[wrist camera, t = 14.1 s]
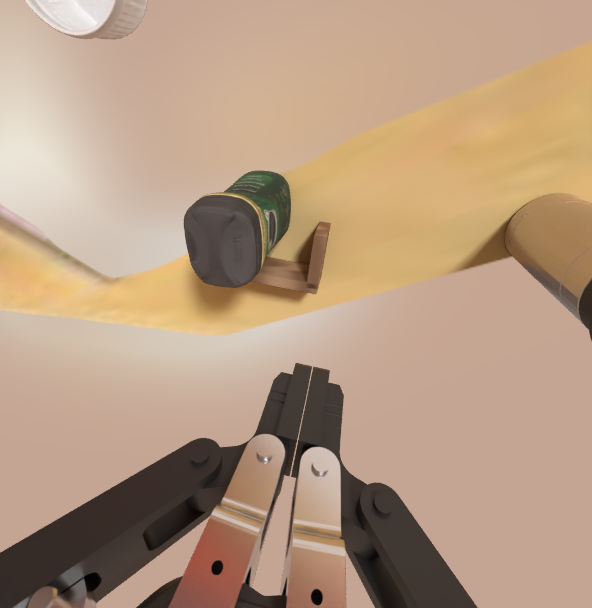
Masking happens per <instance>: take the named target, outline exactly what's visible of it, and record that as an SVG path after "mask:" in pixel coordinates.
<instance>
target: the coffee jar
mask: <svg viewBox="0 0 592 608" xmlns="http://www.w3.org/2000/svg"><path fill="white" fill-rule="evenodd" d="M290 213H291V198H290V189H289V185H288V183H287V181H286V180H285V179H284V177H282V176H281V175H279V174H277V173H274V172H269V171H252V172H249V173H247V174H245V175H244V176H242V177H241V178H239V179H238V180H237V181H236V182H235V183H234V184H233V185H232V186H231V187H229V188H228V189H227V190H226V191H224V192H220V193H211V194H207V195H204V196H202V197H201V198H200V199H199V200H197V201H196V202H195V203H194V204H193V205H192V206H191V207H190V208H189V209H188V210H187V212H186V214H185V217H184V229H185V238H186V244H187V249H188V253H189V257H190V262H191V265H192V267H193V269H194V271H195V273H196V274H197V275H198V276H199V278H200V279H201V280H203V282H204V283H206V284H210V285H215V286H221V287H235V288H236V287H240V286H243V285H245V284H247V283H249V282H250V281H251V280H252V279H253V278H254V277H255V276H256V275H257V274H258V273H259V272H260V270H261V268H262V266H263V263H264V261H265V259H266V256H267V254H268V253H269V251H270V250H271V249H272V248H273V247H274V245H275V244H276V243H277V242H278V241H279V240H280V239H281V238H282V236H283V235H284V234H285V233H286V231H287V230H288V227H289V223H290Z"/></svg>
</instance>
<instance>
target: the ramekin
mask: <svg viewBox="0 0 592 608" xmlns="http://www.w3.org/2000/svg"><path fill="white" fill-rule="evenodd" d="M25 1H26V3H27V4H28V5H29V7H30V8H31V9H32V10H33V11H34V12H35V14H36V15H38V16H39V17H40V18H41V19H42V20H43V21H44V22H45V23H47V24H48V25H49V26H51V27H52V28H54V29H55V30H57V31H59V32H61V33H64V34H66V35H69V36H72V37H76V38H81V39H92V38H101V39H117V38H123V37H124V36H127V35H129V34H130V33H132V32H133V31H134V30H135V29H136V28H137V27H138V25H139V24H140V23H141V20H142V18H143V17H144V13H145V11H146V7H147V3H148V0H25Z"/></svg>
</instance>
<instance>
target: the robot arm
mask: <svg viewBox="0 0 592 608" xmlns="http://www.w3.org/2000/svg"><path fill="white" fill-rule="evenodd" d="M505 245H506V248H507V250H508V252H509V253H510V254H511V255H512V256H513V257H514V258H515V259H516V260H517V261H518V262H519V263H520V264H521V265H522V266H523V267H524V268H525V269H526V270H528V272H529V273H530V274H531V275H532V276H533V277H534V278H536V279H537V280H538V281H539V282H540V283H541V284H542V285H543V286H544V287H545V288H546V289H547V290H548V291H549V292H550V293H551V294H552V295H553V296H554V297H555V298H556V299H557V300H558V301H560V302H561V303H562V304H563V305H564V306H565V307H566V308H567V309H568V310H569V311H570V312H571V313H572V314H573V315H574V316H575V317H577V319H579V320H580V321H581V322H582V323H583V324H584V325H585V326H586V327H587V328H588V329H589V332H590V337H591V340H592V203H590V202H587V201H584V200H582V199H579V198H577V197H574V196H571V195H567V194H551V195H547V196H543V197H540V198H538V199H535V200H533V201H531V202H530V203H528V204H526V205H525V206H524V207H523V208H521V209H520V210H519V211H518V212H517V213H516V214H515V215H514V216H513V217H512V219H511V221H510V222H509V224H508V226H507V229H506V231H505ZM311 369H312V366H308V365H303V364H299V363H296V364H295V368H294V371H293V375H292V374H287V373H283V372H281V373H280V374H279V375H278V376H277V377H276V378H275V379H274V381H273V384H272V387H271V390H270V393H269V396H268V399H267V402H266V405H265V408H264V411H263V413H262V416H261V419H260V422H259V425H258V428H257V430H256V433H255V434H254V436H253V437H252V438H251V439H250V440H249V441H247V442H246V443H244V444H242V445H239V446H232V447H219V445H218V444H217V443H216V442H215V441H213V440H211V439H207V438H200V439H196V440H193V441H191V442H189V443H188V444H186V445H184V446H183V447H181V448H179V449H177V450H176V451H174V452H172V453H171V454H169V455H167V456H166V457H164V458H162V459H160V460H159V461H157V462H155V463H154V464H152V465H150V466H148V467H147V468H145V469H143V470H141V471H140V472H138V473H137V474H135V475H133V476H131V477H129V478H128V479H126V480H124V481H123V482H121V483H119V484H118V485H116V486H114V487H112V488H111V489H109V490H107V491H106V492H104V493H102V494H100V495H99V496H97V497H95V498H94V499H92V500H90V501H88V502H87V503H85V504H83V505H82V506H80V507H78V508H76V509H75V510H73V511H71V512H69V513H68V514H66V515H64V516H63V517H61V518H59V519H57V520H56V521H54V522H52V523H51V524H49V525H47V526H45V527H44V528H42V529H40V530H39V531H37V532H35V533H33V534H32V535H30V536H29V537H27V538H25V539H23V540H21V541H20V542H18V543H16V544H15V545H13V546H11V547H9V548H8V549H6V550H4V551H3V552H1V553H0V608H96V603H97V602H98V601H99V600H101V599H102V598H103V597H104V596H106V595H107V594H108V593H110V592H111V591H112V590H114V589H115V588H116V587H118V586H119V585H120V584H122V583H123V582H124V581H126V580H127V579H128V578H129V577H131V576H132V575H133V574H135V573H136V572H137V571H139V570H140V569H141V568H142V567H144V566H145V565H146V564H148V563H149V562H150V561H152V560H153V559H154V558H156V557H157V556H158V555H160V554H161V553H162V552H163V551H165V550H166V549H167V548H169V547H170V546H171V545H172V544H174V543H175V542H177V541H178V540H179V539H180V538H182V537H183V536H184V535H186V534H187V533H188V532H190V531H191V530H192V529H193V528H195V527H196V526H197V525H199V524H200V523H201V522H203V521H204V520H205V519H207V518H208V517H209V516H210V518H209V520H208V522H207V525H206V527H205V529H204V531H203V533H202V535H201V538H200V540H199V542H198V544H197V546H196V549H195V551H194V553H193V555H192V557H191V560H190V562H189V564H188V566H187V568H186V570H185V573H184V575H183V576H182V577H179V578H176V579H174V580H172V581H170V582H168V583H166V584H165V585H163V586H162V587H160V588H159V589H158V590H157V591H155V592H154V593H153V594H152V595H150V596H149V597H148V598H147V599H146V600H144V601H143V602H142V603H141V604H140V605H139V606H138V607H136V608H346V559H345V550H346V552H347V554H348V556H349V558H350V559H351V561H352V563H353V565H354V567H355V569H356V571H357V573H358V575H359V577H360V579H361V581H362V583H363V585H364V587H365V589H366V591H367V593H368V595H369V597H370V599H371V601H372V602H373V604H374V606H375V608H477V606H476V605H475V604H474V602H473V601H472V599H471V598H470V596H469V595H468V594H467V592H466V591H465V589H464V588H463V586H462V585H461V584H460V582H459V581H458V579H457V578H456V576H455V575H454V574H453V572H452V571H451V570H450V568H449V567H448V565H447V564H446V562H445V561H444V560H443V558H442V557H441V555H440V554H439V552H438V551H437V550H436V548H435V547H434V545H433V544H432V543H431V541H430V540H429V538H428V537H427V536H426V534H425V533H424V531H423V530H422V528H421V527H420V526H419V524H418V523H417V521H416V520H415V519H414V517H413V516H412V514H411V513H410V512H409V510H408V509H407V507H406V506H405V504H404V503H403V501H402V500H401V499H400V497H399V496H398V495H397V493H396V492H395V491H394V490H393V489H391V488H390V487H389V486H387V485H384V484H382V483H371V484H368V485H367V484H365V483H364V482H362V481H361V480H359V479H357V478H356V477H354V476H353V475H351V474H350V473H349V472H348V471H347V470H346V468H345V467H344V465H343V464H342V461H341V458H340V453H339V451H340V436H341V423H342V410H343V409H342V408H343V398H344V395H343V393H342V390H341V388H340V385H337V384H332V383H328V380H329V370H326V369H322V368H317V367H313V372H312V377H311V381H310V386H309V391H308V396H307V401H306V406H305V411H304V415H303V420H302V425H301V431H300V435H299V440H298V445H297V450H296V455H295V460H294V465H293V470H292V475H291V477H295V478H296V482H295V488H294V493H293V497H292V503H291V512H290V520H289V528H288V537H287V545H286V554H285V562H284V569H283V575H282V581H281V589H280V595H278V596H263V595H261V594H260V593H258V592H257V591H255V590H254V589H253V588H252V584H253V581H254V578H255V574H256V571H257V567H258V563H259V558H260V555H261V551H262V548H263V544H264V541H265V538H266V535H267V531H268V528H269V525H270V521H271V518H272V515H273V512H274V508H275V505H276V502H277V498H278V496H279V494H280V491H281V487H282V482H283V478H284V475H286V476H289V475H290V471H291V466H292V461H293V456H294V452H295V447H296V442H297V438H298V433H299V427H300V423H301V418H302V414H303V409H304V404H305V399H306V394H307V389H308V384H309V379H310V374H311Z"/></svg>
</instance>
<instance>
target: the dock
mask: <svg viewBox="0 0 592 608" xmlns="http://www.w3.org/2000/svg"><path fill="white" fill-rule="evenodd" d="M329 229H330V223H324V222H320V223H319V225H318V227H317V230H316V232H315V235H314V240H313V247H312V253H311V260H310V265H307V264H302V263H297V262H291V261H286V260H281V259H275V258H270V257H266V259H265V261H264V263H263V266H262V268H261V270H260V272H259V273H258V274H257V275H256V276H255V277H254V278H253V279H252V280H251V282H256V283H261V284H266V285H271V286H276V287H281V288H287V289H292V290H297V291H302V292H307V293H312V294H316V293H317V290H318V286H319V282H320V279H321V274H322V269H323V263H324V257H325V252H326V246H327V241H328V235H329Z"/></svg>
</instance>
